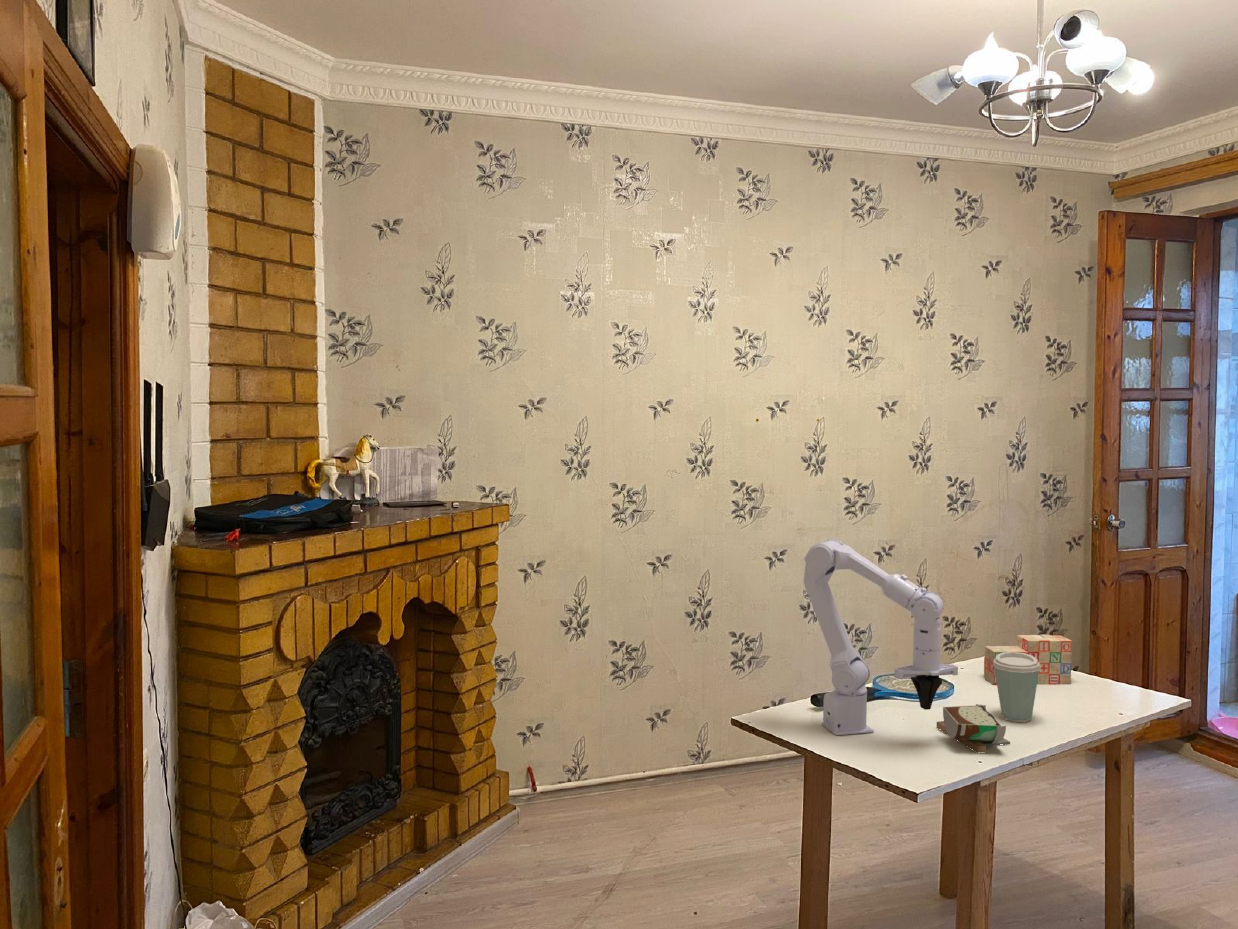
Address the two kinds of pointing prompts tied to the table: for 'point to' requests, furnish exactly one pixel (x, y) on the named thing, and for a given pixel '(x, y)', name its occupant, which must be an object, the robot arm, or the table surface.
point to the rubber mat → (996, 743)
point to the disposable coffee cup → (1016, 684)
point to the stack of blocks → (1037, 657)
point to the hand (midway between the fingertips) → (925, 708)
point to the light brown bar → (970, 743)
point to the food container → (972, 724)
